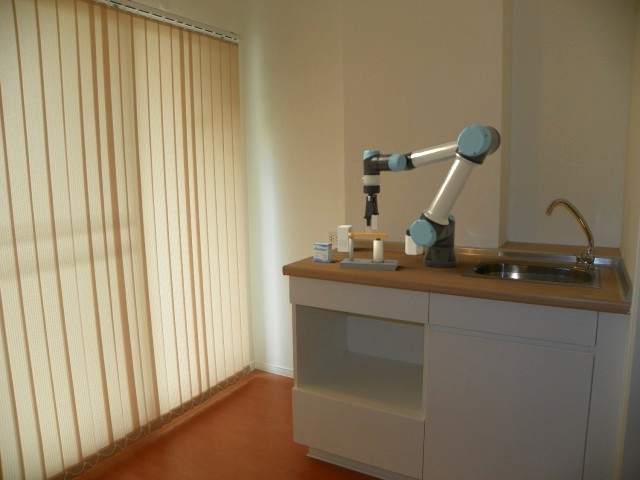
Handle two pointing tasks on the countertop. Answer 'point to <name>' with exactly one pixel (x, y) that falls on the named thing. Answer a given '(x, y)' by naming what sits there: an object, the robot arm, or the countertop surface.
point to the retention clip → (368, 235)
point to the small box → (343, 237)
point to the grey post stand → (366, 262)
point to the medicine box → (322, 252)
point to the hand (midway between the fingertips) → (371, 231)
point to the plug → (378, 250)
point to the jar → (411, 245)
